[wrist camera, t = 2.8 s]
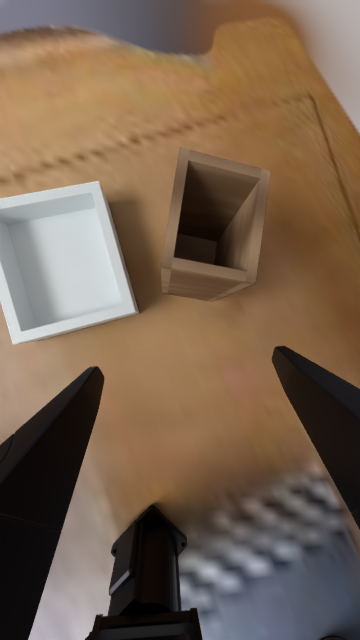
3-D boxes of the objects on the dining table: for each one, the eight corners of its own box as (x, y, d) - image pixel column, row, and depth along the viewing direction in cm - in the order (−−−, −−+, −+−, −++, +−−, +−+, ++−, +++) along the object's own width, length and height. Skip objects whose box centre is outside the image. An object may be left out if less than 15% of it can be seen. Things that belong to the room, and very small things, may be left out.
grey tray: (139, 313, 20) (135, 311, 17) (36, 341, 19) (12, 344, 16) (107, 201, 20) (98, 180, 17) (1, 222, 19) (-29, 203, 16)
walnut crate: (212, 301, 21) (255, 283, 11) (161, 292, 21) (160, 265, 11) (221, 240, 22) (271, 171, 12) (171, 230, 21) (179, 147, 11)
